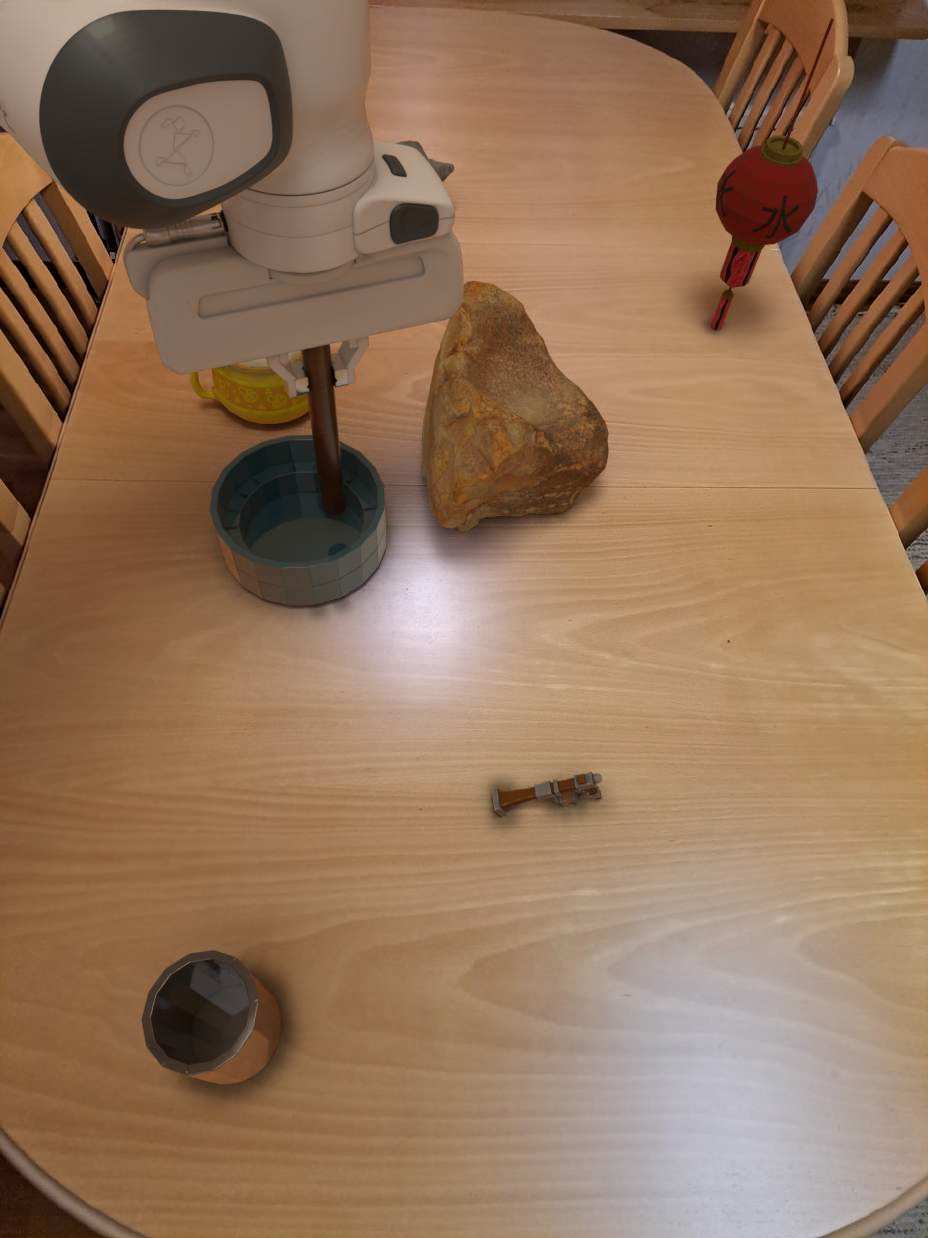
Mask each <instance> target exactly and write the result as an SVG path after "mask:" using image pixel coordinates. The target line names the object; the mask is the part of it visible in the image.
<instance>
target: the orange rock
mask: <svg viewBox="0 0 928 1238" xmlns="http://www.w3.org/2000/svg"><path fill="white" fill-rule="evenodd" d="M421 432H422V434H421V435H422V436H421V437H422V438H421V443H422V456H421V464H420V466H421V467H420V470H421V471H420V472H421V478H422V480H423V481H424V482H425V484H427V495H428V499H429V507H430V508H429V509H430V512H431V514H433V515H434V517H435V519H436V521H437V522H438V523H439V524H440V525H441V527H442V528H447V529H457V530H458V531H460V532H461V533H463V532H467V531H469V530H471V529H472V528H474V527H476V526H479V524H480V520H481V519H484V518H493V517H502V516H504V517H524V516H528V515H529V514H537V515H540V514H541V515H551V514H561V513H563V512H565V511H566V510H567V509H569V508H571V506H573V504H574V503H575V501H576V500H577V499H578V497H579V495H580V494H581V492H582V491H583V490H585V489H586V488H588V487H589V486H590V485H591V484H592V483H593V482H594V481H595V480H596V479H597V478H598V477H599V476H600V475H601V474H602V473H603V471H604V470H605V469H606V468H607V463H608V459H609V452H610V450H609V436H610V435H609V430H608V425H607V421H605V419H604V417H603V415H602V414H601V413H600V411H599V410H598V408H597V406H596V405H595V403H594V402H593V400H591V399H590V398H589V397H588V396H587V395H586V393H585V392H584V391H583V390H582V388H581V387H579V385H578V384H576V383H575V382H574V381H572V380H571V379H570V378H568V377H567V376H566V375H565V374H564V373H563V372H562V371H561V369H559V368H558V366H557V364H556V363H555V361H554V360H553V358H552V357H551V354H550V353H549V350H548V348H547V345H546V341H545V339H544V338H543V337H542V336H541V334H540V333H539V332H538V331H537V328H536V326H535V324H534V322H533V320H532V319H531V318H530V316H529V314H528V313H527V311H526V309H525V305H524V304H523V303H522V302H521V301H519V299H517V297H516V296H514V295H513V294H511V293H509V292H508V291H505V290H504V289H501V288H500V287H499V286H497V285H495V284H493V283H489V282H484V281H479V280H469V281H467V282H465V284H464V290H463V301H462V305H461V306H460V308H459V309H458V310H457V312H456V313H455V314H454V315H453V316H452V317H451V318H450V319H448V322H447V326H446V328H445V330H444V332H443V335H442V338H441V342H440V345H439V348H438V351H437V354H436V356H435V360H434V364H433V370H432V375H431V380H430V385H429V391H428V396H427V402H426V406H425V409H424V415H423V422H422V431H421Z"/></svg>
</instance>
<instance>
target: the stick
mask: <svg viewBox="0 0 928 1238" xmlns="http://www.w3.org/2000/svg"><path fill="white" fill-rule="evenodd" d="M331 349H332V348H331V344H328V345H323V346H318V347H314V348H309V349H304V350H301V354H302V361H303V369H304V370H305V372H306V374H307V376H308V383H309V385H308V387H309V391H310V393H309V394H307V399H308V406H309V411H308V413H309V420H310V421H309V422H310V428H311V435H312V436H313V444H314V451H315V459H316V466H317V474H318V481H319V489H320V496H321V504H322V509H323V511H324V512H325V513H326V514H328V515H339V514H341V513H342V512H343V511H344V510H345V495H344V485H343V474H342V464H341V453H340V443H339V441H340V435H339V434H340V432H339V423H338V414H337V403H336V393H335V386H334V381H333V370H332V359H331V354H332V351H331Z"/></svg>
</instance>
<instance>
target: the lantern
mask: <svg viewBox="0 0 928 1238" xmlns="http://www.w3.org/2000/svg"><path fill="white" fill-rule="evenodd" d="M834 21H835V18H830V20H829V22H828V25H827V27H826V30H825V33H824V36H823V38H822V42H821V44H820V46H819V49H818V52H817V54H816V57H815V60H814V62H813V65H812V67H811V70H810V73H809V75H808V78H807V81H806V84H805V87H804V89H803V91H802V94H801V96H800V99H799V101H798V104H797V108H796V110H795V113H794V115H793V118H792V120H791V123H790V126H789V128H788V131H787V134H786V135H781V134H780V135H778V134H777V135H773V136H770V137H767V139H766V141H765V142H764V144H762V145H756V146H753V147H750V148H747V149H746V150H745V151H743V152H742V153H741V154H739V155H738V156H736V157H735V158H734V159H732V160H731V162H730V163H729V164H728V165H727V166H726V167H725V169H724V171H723V173H722V174H721V176H720V178H719V180H718V181H717V184H716V185H717V186H716V194H715V195H716V196H715V212H716V214H717V216H718V219H719V221H720V224H721V225H722V227H723V228H724V230H725V232H727V233H728V234H729V235H730V236H731V242H730V244H729V247H728V250H727V253H726V255H725V258H724V261H723V264H722V267H721V270H720V273H719V278H720V280H721V281H722V282H723V283H724V284H726V285H727V287H729V288H728V289H725V290H723V292H722V293H721V297H720V298H719V302H718V305H717V307H716V310H715V313H714V316H713V318H712V321H711V323H710V327H711V329H713V330H714V331H719V330H721V329H722V327H723V324H724V322H725V319H726V317H727V315H728V312H729V309H730V307H731V304H732V301H733V299H734V295H735V294H734V293H735V292H733V289H735V288H740V287H745V286H747V285H748V284H749V283H750V281H751V278H752V276H753V273H754V271H755V269H756V266H757V263H758V261H759V258H760V255H761V253H762V250H763V249H764V248H765V246H770V245H771V246H772V245H775V244H778V243H780V242H782V241H784V240H786V239H789V238H790V237H792V236H793V235H795V234H796V233H798V232H799V231H800V230H801V229H802V227H803V226H804V224H805V223H806V221H808V219H809V217H810V216H811V214H812V213H813V212H814V210H815V207H816V203H817V197H818V192H819V189H818V180H817V177H816V174H815V170H814V166H813V165H812V164H811V163H810V161H809V160H808V159H807V157H805V156H804V155H803V151H804V146H803V145H802V143H801V142H800V141H799V140H797V139H795V138H794V137H791V134H792V131H793V129H794V126H795V123H796V121H797V118H798V115H799V113H800V110H801V107H802V105H803V102H804V100H805V98H806V94H807V92H808V90H809V87H810V84H811V81H812V79H813V76H814V73H815V70H816V68H817V65H818V63H819V60H820V57H821V55H822V53H823V49H824V47H825V45H826V42H827V39H828V37H829V34H830V32H831V29H832V26H833V23H834Z"/></svg>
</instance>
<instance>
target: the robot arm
mask: <svg viewBox="0 0 928 1238" xmlns="http://www.w3.org/2000/svg"><path fill="white" fill-rule="evenodd" d="M370 17H371V16H370V0H0V127H1V128H2V129H4V131H5V132H7V134H8V135H10V137H11V138H12V139H13V140H14V141H15V142H16V143H17V144H18V145H19V146H20V147H21V148H22V149H23V151H24V152H26V153H27V155H28V156H29V157H30V158H31V159H32V160H33V161H34V162H35V163H36V164H37V165H38V166H39V167H40V168H41V169H42V170H43V171H44V172H45V173H46V174H47V175H48V176H49V177H50V178H51V179H53V181H54V182H55V183H56V184H57V185H58V186H59V187H61V188H62V189H63V191H65V192H66V194H68V195H69V196H70V197H71V198H72V199H73V200H74V201H75V202H76V203H78V205H79V206H81V207H82V208H83V209H85V210H86V211H87V212H89V213H90V214H92V215H94V216H95V217H97V218H99V219H101V220H103V221H105V222H108V223H110V224H112V225H115V226H119V227H123V228H128V229H134V230H135V229H136V230H141V231H142V232H141V233H138V234H136V235H135V236H133V237H131V239H129V241H128V242H127V243H126V245H125V247H124V249H123V253H122V263H123V266H124V269H125V272H126V275H127V278H128V281H129V283H130V286H131V288H132V289H133V290H134V292H135V293H137V294H138V295H139V296H140V297H142V298H143V299H145V304H146V311H147V314H148V315H147V316H148V319H149V323H150V328H151V331H152V335H153V340H154V342H155V343H154V344H155V347H156V349H157V354H158V356H159V359H160V362H161V365H162V366H163V367H165V368H167V370H169V371H171V372H173V373H174V374H176V375H179V376H184V375H190V373H195V372H198V373H199V372H204V371H208V370H212V369H214V368H218V367H223V366H228V365H233V364H237V363H242V362H247V361H252V360H257V359H261V358H266V360H267V363H268V366H269V367H270V368H271V369H272V370H273V371H274V372H275V373H277V374H278V375H279V376H280V377H281V378H282V379H283V381H284V385H285V388H286V391H287V393H288V396H289V398H292V397H297V396H301V395H305V394H309V393H310V391H309V387H308V385H309V383H308V376H307V374H306V372H305V370H304V369H303V365H302V362H301V361H295V362H289V359H288V353H290V352H295V351H299V350H304V349H309V348H314V347H318V346H323V345H328V344H330V345H333V344H337V343H341V344H340V345H339V346H340V347H339V349H338V351H336V352H334V353H331V359H332V370H333V381H334V388H340V387H345V386H350V385H354V384H355V385H356V370H355V367H357V365H358V364H359V362H360V361H361V359H362V357H363V356H364V354H365V352H366V351H367V350H368V348H369V346H370V338H369V337H371V336H374V335H375V336H376V335H379V334H384V333H389V332H394V331H399V330H404V329H409V328H413V327H419V326H423V325H428V324H433V323H438V322H442V321H447V320H449V319H450V318H451V317H452V316H453V315H454V314H455V313H456V312H457V310H458V309H459V308H460V306H461V305H462V301H463V290H464V285H465V284H464V282H465V279H464V277H465V276H464V261H463V251H462V247H461V244H460V242H459V240H458V237H457V236H456V234H455V232H454V231H453V228H454V225H455V219H456V208H455V205H454V202H453V200H452V198H451V197H452V196H450V193H449V191H448V189H447V187H446V186H445V184H444V181H443V182H442V181H441V179H440V177H439V176H438V174H437V173H436V172H435V170H434V169H433V167H432V166H431V165H430V163H429V162H428V161H427V160H426V159H425V158H424V156H423V155H422V154H421V153H420V152H419V151H418V150H417V149H415V148H413V147H409V146H405V145H400V144H395V142H394V143H393V142H389V141H382V140H378V139H374V136H373V132H372V129H371V127H370V123H369V120H368V116H367V109H366V96H367V95H366V94H367V89H368V85H369V81H370V78H371V70H372V48H371V47H372V42H371V41H372V40H371V39H372V38H371V18H370ZM218 205H220V207H221V209H220V211H218V212H210V213H206V214H202V213H205V212H206V211H208V210H210V209H212V208H214V207H216V206H218Z"/></svg>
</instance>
